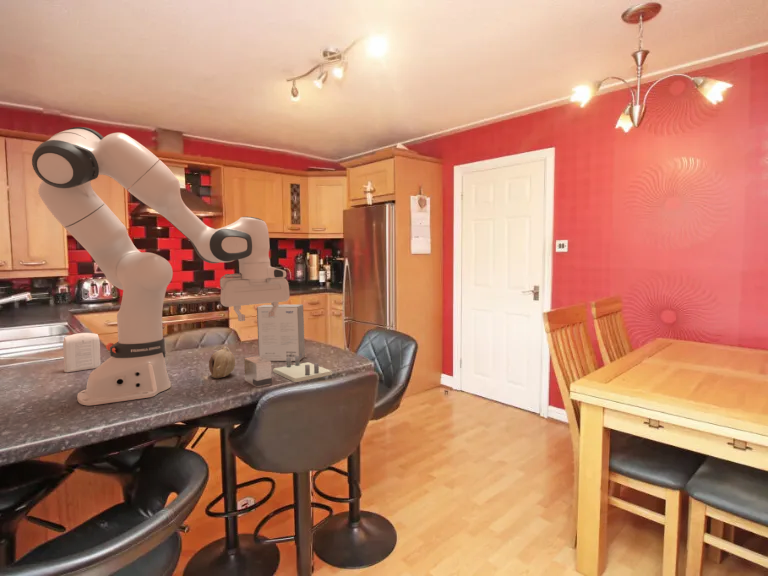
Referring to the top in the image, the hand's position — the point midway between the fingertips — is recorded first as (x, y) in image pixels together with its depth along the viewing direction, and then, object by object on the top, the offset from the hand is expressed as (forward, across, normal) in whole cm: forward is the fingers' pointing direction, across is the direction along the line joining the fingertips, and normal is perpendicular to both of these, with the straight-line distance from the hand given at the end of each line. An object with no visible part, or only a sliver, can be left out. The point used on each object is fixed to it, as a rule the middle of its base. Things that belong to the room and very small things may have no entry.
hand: (257, 319), depth 129 cm
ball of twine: (+19, -7, +13) cm, 24 cm away
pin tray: (+19, +14, 0) cm, 24 cm away
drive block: (+19, -1, 0) cm, 19 cm away
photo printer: (+19, -40, +52) cm, 68 cm away
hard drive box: (+20, +18, +22) cm, 35 cm away
